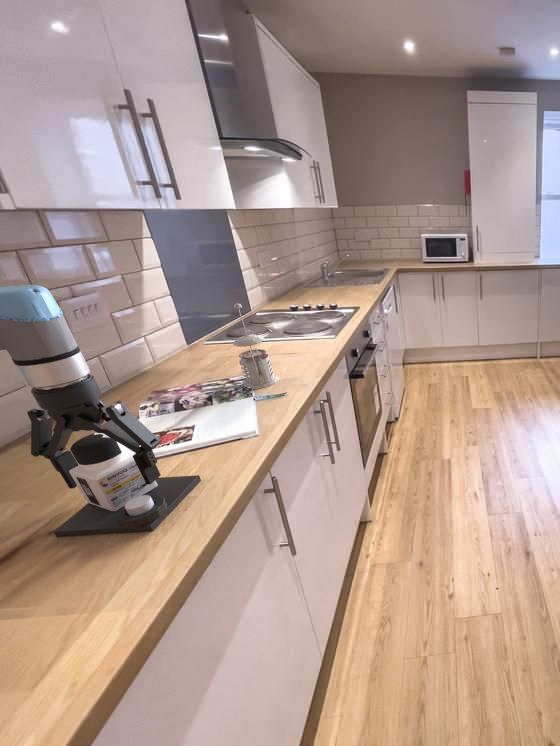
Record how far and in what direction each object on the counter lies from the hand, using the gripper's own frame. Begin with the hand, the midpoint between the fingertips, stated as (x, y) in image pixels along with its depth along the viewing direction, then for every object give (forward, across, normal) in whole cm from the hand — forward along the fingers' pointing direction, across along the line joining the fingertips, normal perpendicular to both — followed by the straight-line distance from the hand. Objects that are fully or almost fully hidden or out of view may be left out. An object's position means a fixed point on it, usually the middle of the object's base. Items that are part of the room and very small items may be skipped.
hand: (116, 481), depth 77 cm
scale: (+4, -3, +2) cm, 6 cm away
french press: (+5, -1, -53) cm, 53 cm away
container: (+3, 0, 0) cm, 3 cm away
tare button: (+2, -8, +6) cm, 10 cm away
